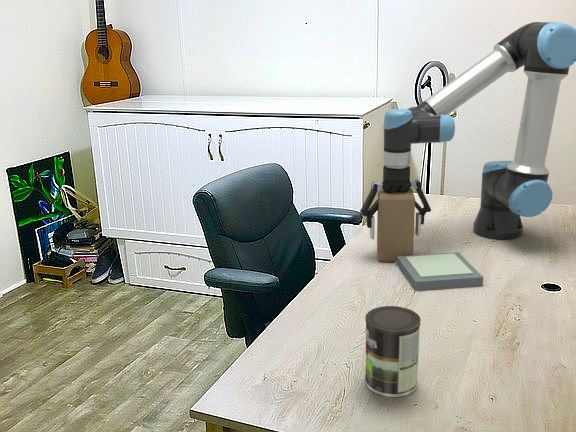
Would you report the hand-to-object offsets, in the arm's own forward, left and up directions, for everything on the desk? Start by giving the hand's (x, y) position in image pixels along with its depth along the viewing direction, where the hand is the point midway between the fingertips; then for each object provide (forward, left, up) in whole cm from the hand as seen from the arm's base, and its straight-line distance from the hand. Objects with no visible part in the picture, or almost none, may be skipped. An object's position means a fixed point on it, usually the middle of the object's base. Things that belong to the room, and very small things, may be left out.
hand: (394, 236), depth 183 cm
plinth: (-8, +15, -6) cm, 18 cm away
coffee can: (+18, +64, -7) cm, 67 cm away
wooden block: (0, 0, -7) cm, 7 cm away
